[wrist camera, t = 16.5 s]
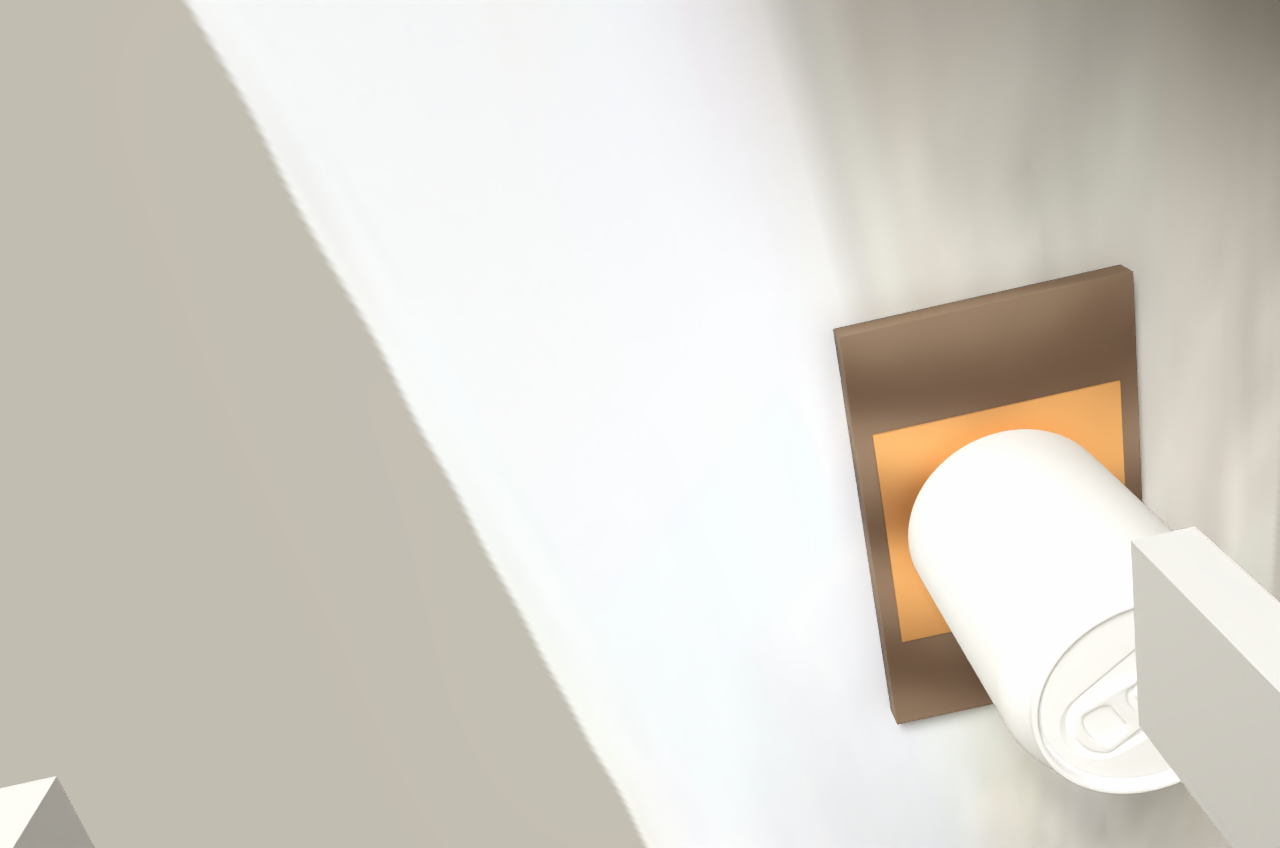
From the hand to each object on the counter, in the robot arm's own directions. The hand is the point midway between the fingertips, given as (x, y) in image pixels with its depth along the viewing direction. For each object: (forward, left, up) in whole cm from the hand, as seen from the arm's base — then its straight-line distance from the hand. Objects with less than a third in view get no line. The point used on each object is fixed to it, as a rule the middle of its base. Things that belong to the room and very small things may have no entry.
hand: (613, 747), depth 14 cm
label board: (+15, +14, -29) cm, 35 cm away
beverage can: (+15, +14, -28) cm, 34 cm away
